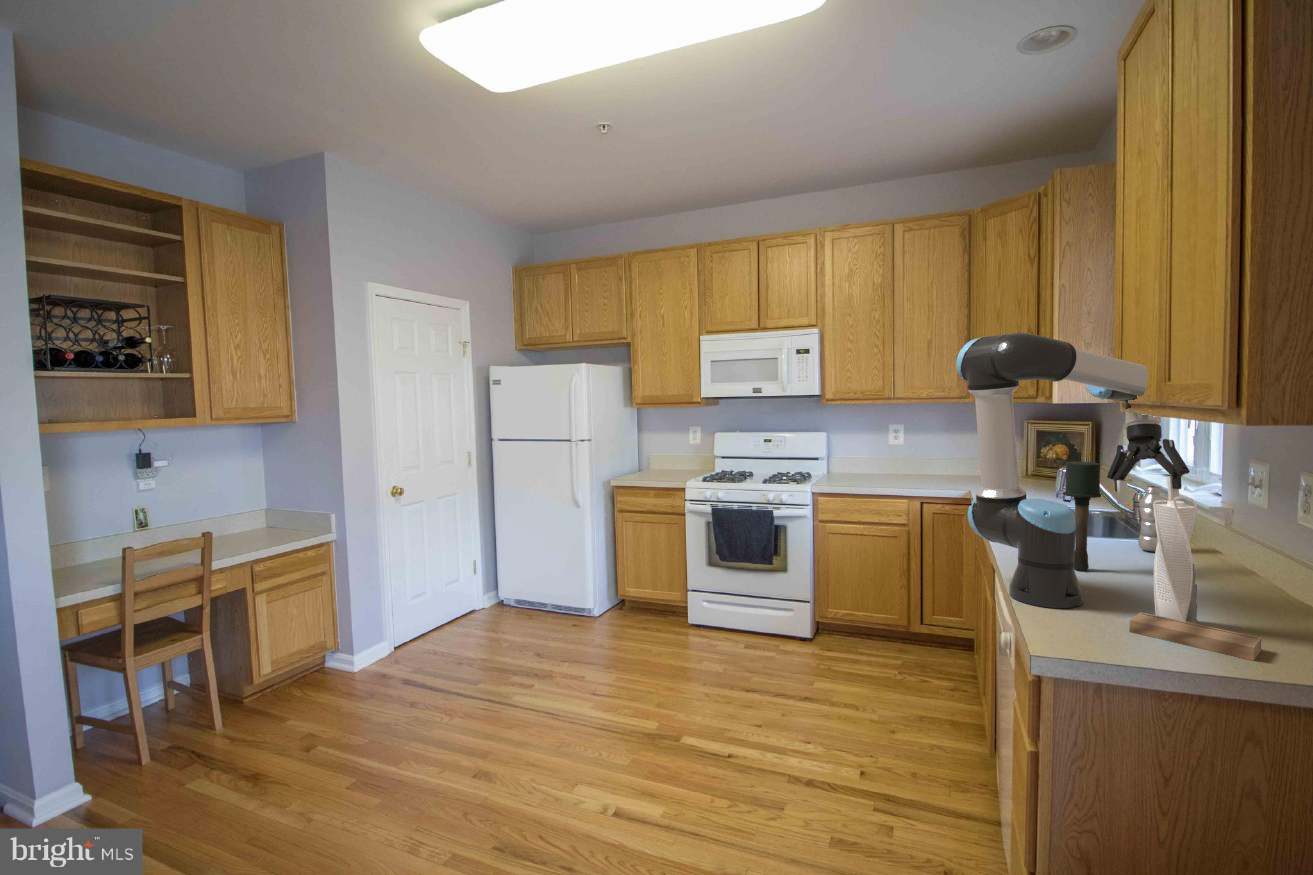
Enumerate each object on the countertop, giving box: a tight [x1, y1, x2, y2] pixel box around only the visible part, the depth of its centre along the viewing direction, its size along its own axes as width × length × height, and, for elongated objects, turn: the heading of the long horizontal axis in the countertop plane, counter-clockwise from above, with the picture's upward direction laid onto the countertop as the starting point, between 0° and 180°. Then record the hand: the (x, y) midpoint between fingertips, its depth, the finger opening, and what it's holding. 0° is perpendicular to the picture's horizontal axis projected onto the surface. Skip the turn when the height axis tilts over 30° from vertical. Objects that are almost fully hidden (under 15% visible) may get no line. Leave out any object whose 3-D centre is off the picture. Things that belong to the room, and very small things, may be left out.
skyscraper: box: [1153, 495, 1199, 624], centre depth 134 cm, size 8×8×28 cm
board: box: [1128, 611, 1262, 661], centre depth 126 cm, size 19×7×3 cm, turn 38°
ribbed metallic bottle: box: [1137, 485, 1167, 553], centre depth 192 cm, size 6×7×20 cm
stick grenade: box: [1063, 461, 1102, 572], centre depth 174 cm, size 8×9×30 cm
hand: (1147, 503), depth 167 cm, fingers open, 13 cm apart
